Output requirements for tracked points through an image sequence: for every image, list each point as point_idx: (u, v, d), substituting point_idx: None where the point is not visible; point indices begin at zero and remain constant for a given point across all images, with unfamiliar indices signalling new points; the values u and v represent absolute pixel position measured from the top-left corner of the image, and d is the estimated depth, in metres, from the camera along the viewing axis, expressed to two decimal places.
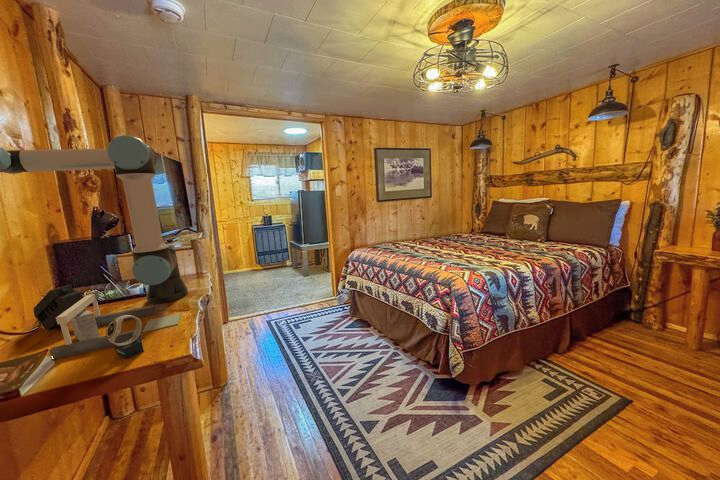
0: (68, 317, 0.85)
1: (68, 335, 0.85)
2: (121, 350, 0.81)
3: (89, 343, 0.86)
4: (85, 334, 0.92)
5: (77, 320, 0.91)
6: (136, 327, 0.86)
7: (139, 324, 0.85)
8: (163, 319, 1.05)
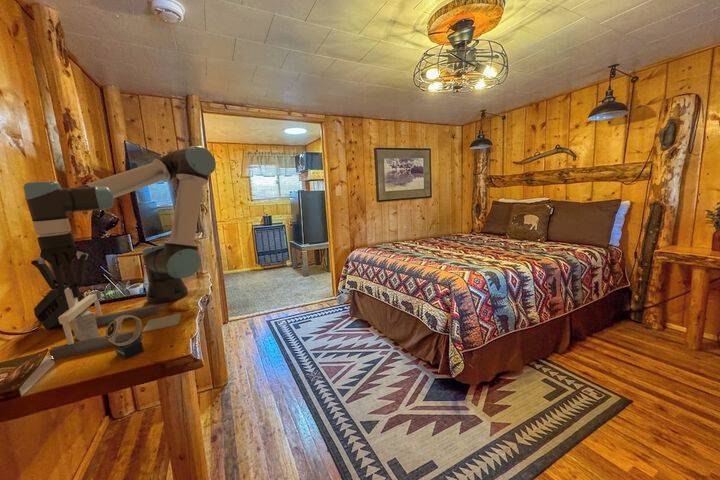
0: (70, 317, 0.85)
1: (70, 335, 0.85)
2: (121, 350, 0.81)
3: (89, 343, 0.86)
4: (85, 334, 0.92)
5: (77, 320, 0.91)
6: (136, 327, 0.86)
7: (139, 324, 0.85)
8: (163, 319, 1.05)
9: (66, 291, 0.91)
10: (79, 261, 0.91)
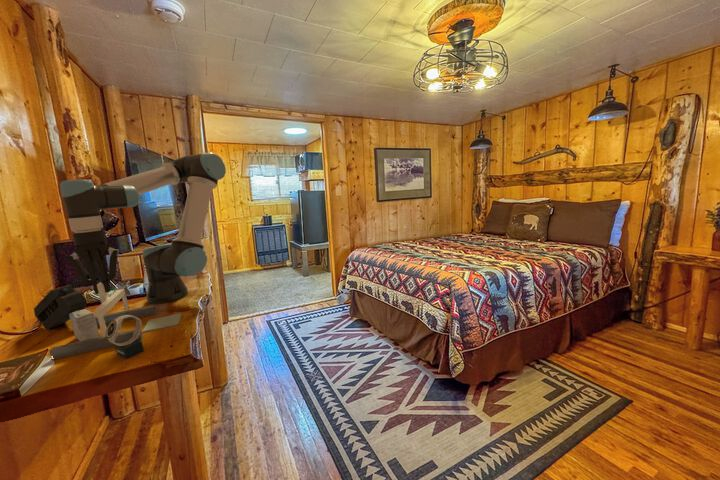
0: (105, 311, 0.88)
1: (105, 327, 0.88)
2: (121, 350, 0.81)
3: (89, 343, 0.86)
4: (85, 334, 0.92)
5: (77, 320, 0.91)
6: (136, 327, 0.86)
7: (139, 324, 0.85)
8: (163, 319, 1.05)
9: (98, 286, 0.94)
10: (111, 257, 0.94)
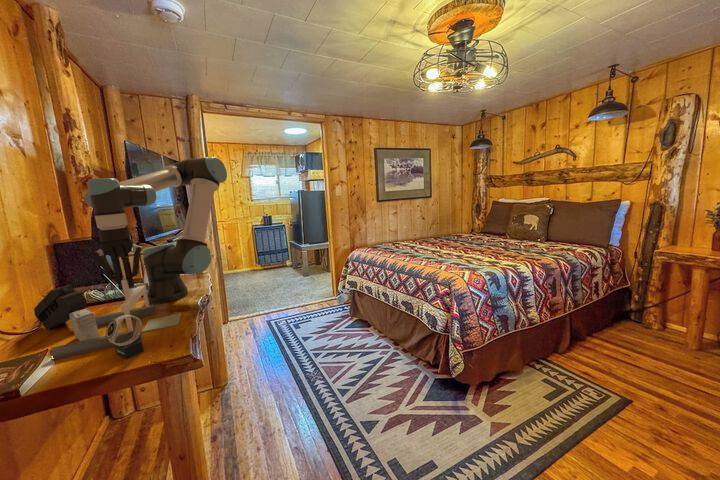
0: (130, 306, 0.91)
1: (130, 322, 0.91)
2: (121, 350, 0.81)
3: (89, 343, 0.86)
4: (85, 334, 0.92)
5: (77, 320, 0.91)
6: (136, 327, 0.86)
7: (139, 324, 0.85)
8: (163, 319, 1.05)
9: (123, 282, 0.96)
10: (135, 253, 0.97)
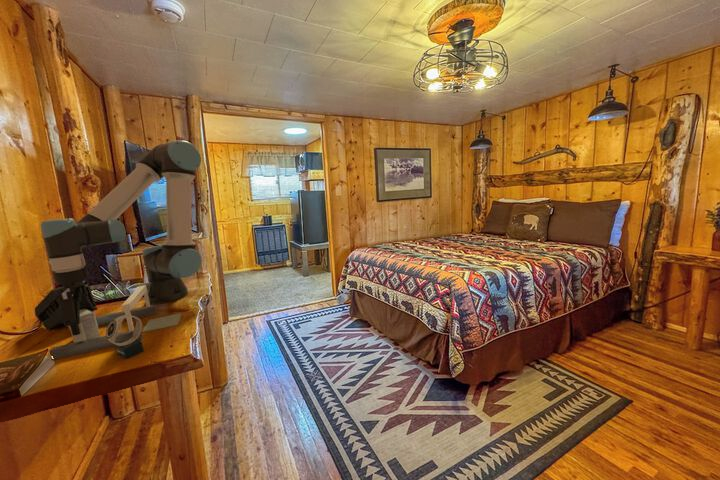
0: (131, 306, 0.91)
1: (131, 322, 0.91)
2: (121, 350, 0.81)
3: (89, 343, 0.86)
4: (85, 334, 0.92)
5: None
6: (136, 327, 0.86)
7: (139, 324, 0.85)
8: (163, 319, 1.05)
9: (81, 324, 0.91)
10: (88, 287, 0.99)
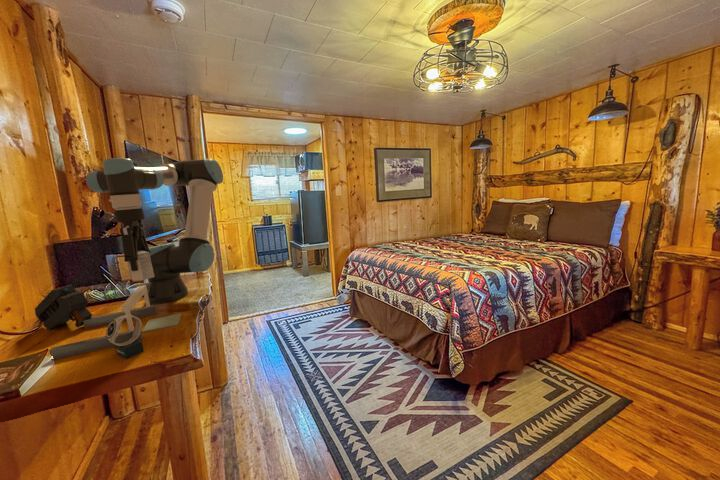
0: (131, 306, 0.91)
1: (131, 322, 0.91)
2: (121, 350, 0.81)
3: (89, 343, 0.86)
4: (142, 271, 0.95)
5: None
6: (136, 327, 0.86)
7: (139, 324, 0.85)
8: (163, 319, 1.05)
9: (139, 261, 0.94)
10: (142, 230, 1.02)
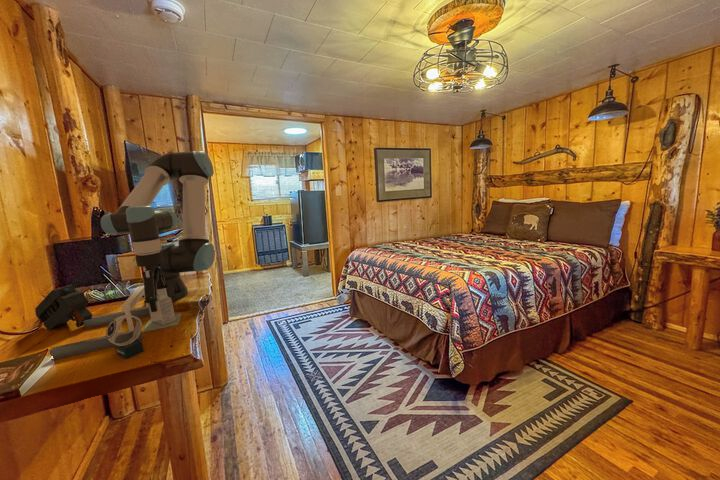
0: (131, 306, 0.91)
1: (131, 322, 0.91)
2: (121, 350, 0.81)
3: (89, 343, 0.86)
4: (165, 316, 1.00)
5: (159, 304, 0.98)
6: (136, 327, 0.86)
7: (139, 324, 0.85)
8: None
9: (158, 301, 0.96)
10: (160, 269, 1.06)
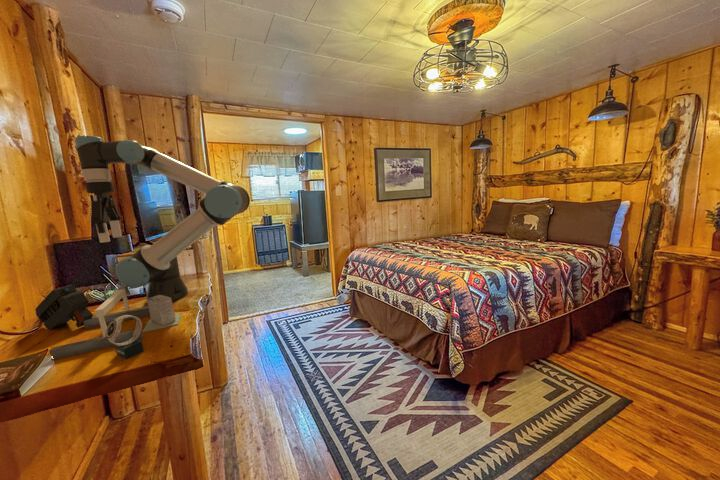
0: (105, 310, 0.89)
1: (105, 327, 0.88)
2: (121, 350, 0.81)
3: (89, 343, 0.86)
4: (165, 316, 1.00)
5: (159, 304, 0.98)
6: (136, 327, 0.86)
7: (139, 324, 0.85)
8: None
9: None
10: (113, 201, 1.14)
